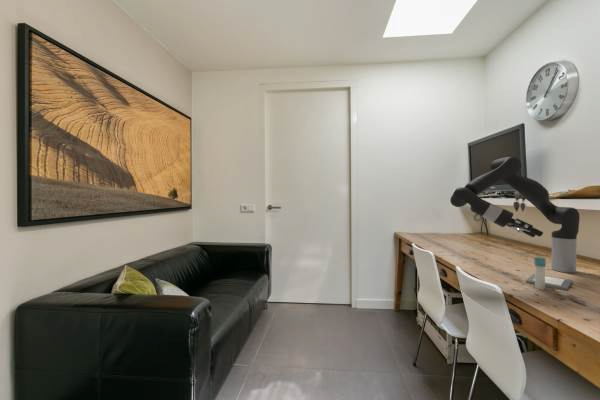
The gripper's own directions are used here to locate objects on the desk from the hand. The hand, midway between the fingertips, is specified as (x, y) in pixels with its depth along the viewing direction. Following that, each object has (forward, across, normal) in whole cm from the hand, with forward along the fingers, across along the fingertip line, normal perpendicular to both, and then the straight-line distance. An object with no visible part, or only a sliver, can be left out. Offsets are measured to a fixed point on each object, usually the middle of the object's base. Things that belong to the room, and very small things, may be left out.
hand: (538, 235), depth 111 cm
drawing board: (+16, +15, +14) cm, 26 cm away
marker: (+12, +4, +19) cm, 23 cm away
